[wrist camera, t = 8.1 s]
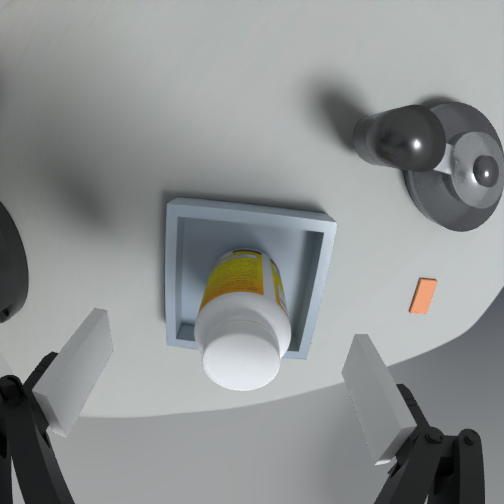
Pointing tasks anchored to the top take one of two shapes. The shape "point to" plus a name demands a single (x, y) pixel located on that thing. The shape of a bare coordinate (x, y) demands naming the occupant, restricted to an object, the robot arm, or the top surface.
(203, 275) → the tray
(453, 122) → the crank housing
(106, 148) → the top surface
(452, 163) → the crank
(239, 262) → the supplement bottle
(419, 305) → the orange flat block
